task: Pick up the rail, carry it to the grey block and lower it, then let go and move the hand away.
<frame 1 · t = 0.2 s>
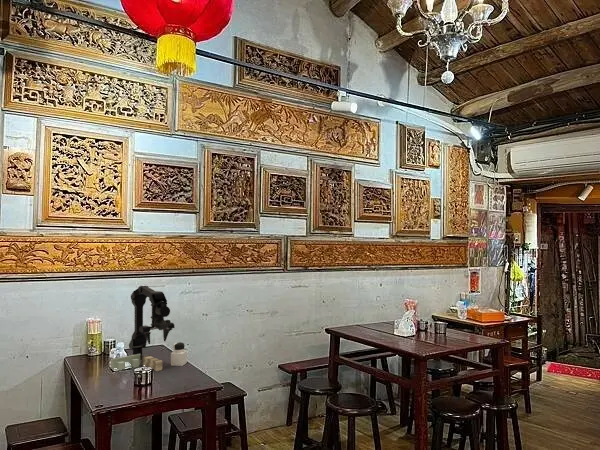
hand: (157, 342, 268), 14 cm above the table, fingers open, 9 cm apart
grey block: (128, 368, 266), on the table
medicine bottle: (179, 364, 274), on the table
rail: (151, 367, 268), on the table
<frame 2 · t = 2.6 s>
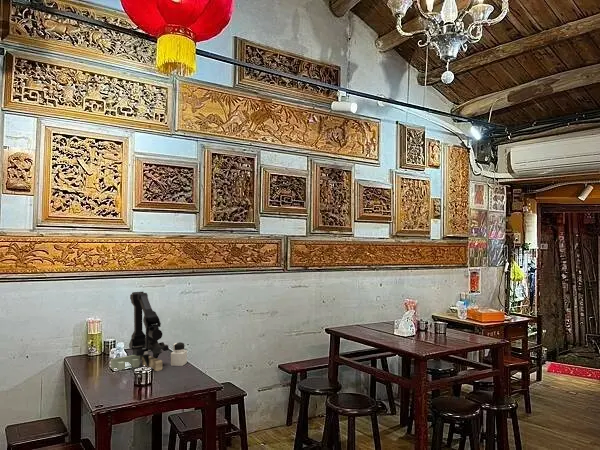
hand: (151, 365, 269), 1 cm above the table, fingers closed on rail, 3 cm apart
rail: (151, 367, 268), on the table, touching gripper
everything else where it was.
when the fingers open (2 cm above the table, at t = 7.2 s): rail drops 1 cm, on the table.
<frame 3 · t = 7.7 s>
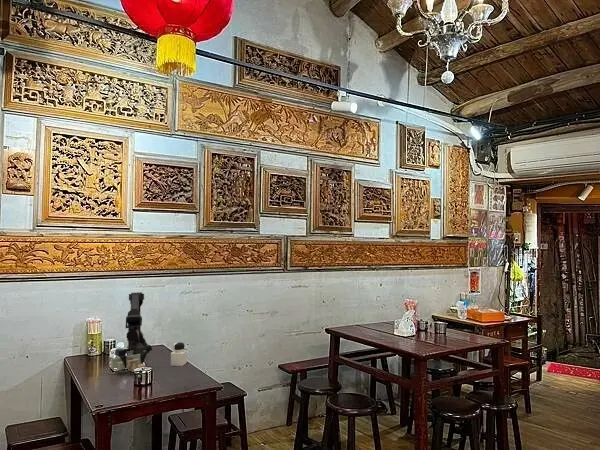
hand: (133, 366, 262), 2 cm above the table, fingers open, 9 cm apart
rail: (134, 371, 261), on the table
everything else where it was.
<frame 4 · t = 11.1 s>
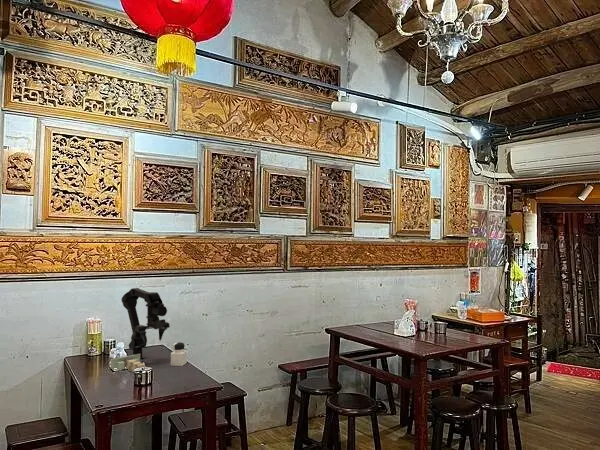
hand: (152, 341, 278), 12 cm above the table, fingers open, 9 cm apart
nothing on the table moved.
at the end: rail 0.2 cm from the target spot on the table beside the grey block, on the table; rail tilted 0°; the gripper is holding nothing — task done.
